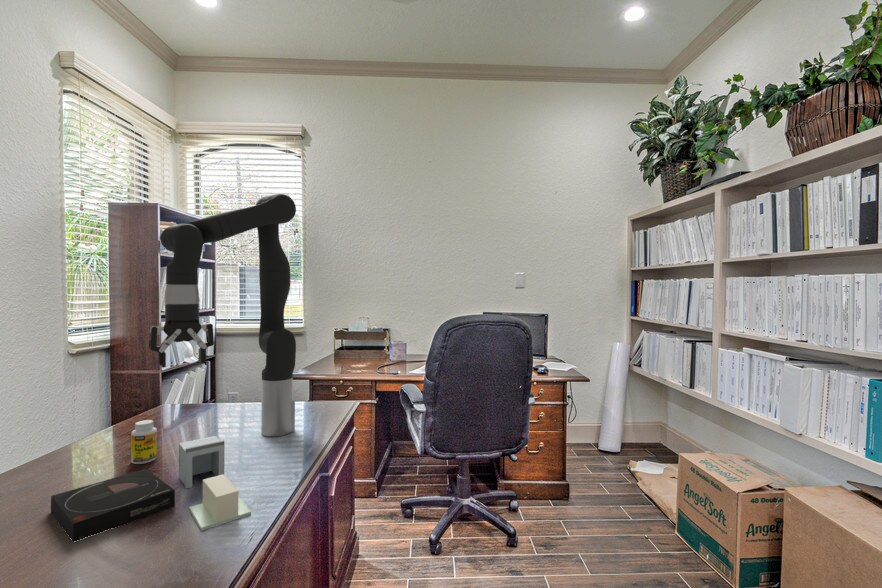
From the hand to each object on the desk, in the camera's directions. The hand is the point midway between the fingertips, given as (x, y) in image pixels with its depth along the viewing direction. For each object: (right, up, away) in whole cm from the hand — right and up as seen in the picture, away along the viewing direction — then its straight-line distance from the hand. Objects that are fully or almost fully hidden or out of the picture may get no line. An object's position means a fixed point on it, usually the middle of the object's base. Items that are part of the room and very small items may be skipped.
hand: (182, 364), depth 110 cm
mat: (+22, -26, -23) cm, 41 cm away
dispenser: (+9, -26, -7) cm, 29 cm away
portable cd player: (-1, -27, -22) cm, 35 cm away
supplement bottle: (-12, -26, +2) cm, 28 cm away
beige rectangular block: (+22, -26, -23) cm, 41 cm away
